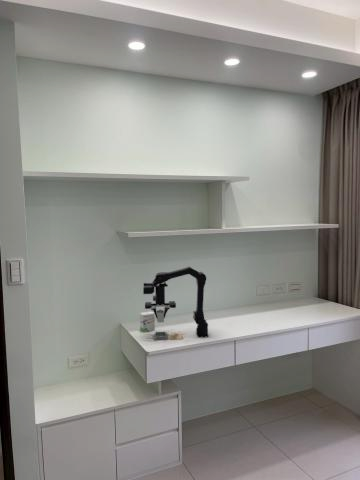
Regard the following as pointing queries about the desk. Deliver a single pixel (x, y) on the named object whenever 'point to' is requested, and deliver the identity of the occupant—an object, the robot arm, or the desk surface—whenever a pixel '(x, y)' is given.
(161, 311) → the cable plug
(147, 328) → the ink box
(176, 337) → the cork pad
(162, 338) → the grey square frame
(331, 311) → the desk surface
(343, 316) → the desk surface
